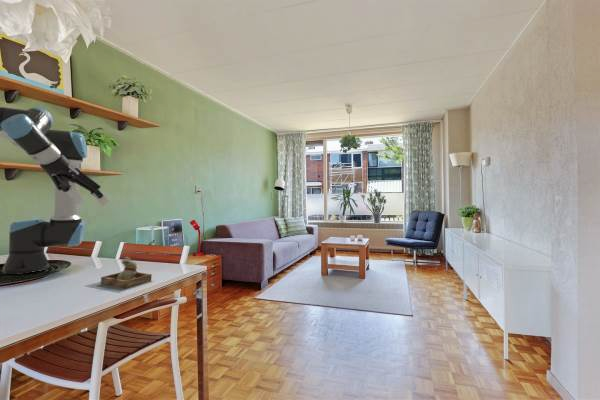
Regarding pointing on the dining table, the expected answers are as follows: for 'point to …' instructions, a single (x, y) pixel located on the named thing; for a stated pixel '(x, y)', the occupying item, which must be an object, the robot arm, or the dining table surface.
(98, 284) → the mat
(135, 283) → the brown wooden tray
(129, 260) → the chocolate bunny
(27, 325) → the dining table surface
